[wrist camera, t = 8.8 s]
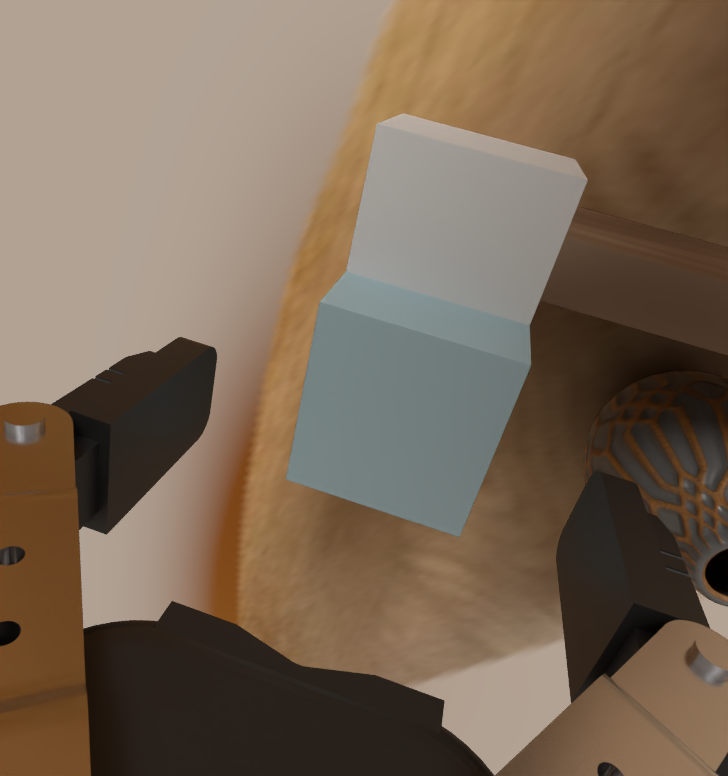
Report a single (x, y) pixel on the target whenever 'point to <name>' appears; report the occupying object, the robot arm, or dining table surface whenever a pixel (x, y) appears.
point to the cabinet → (431, 319)
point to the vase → (674, 463)
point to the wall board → (643, 279)
